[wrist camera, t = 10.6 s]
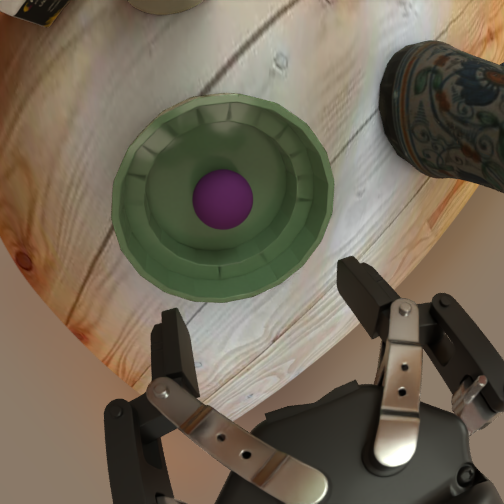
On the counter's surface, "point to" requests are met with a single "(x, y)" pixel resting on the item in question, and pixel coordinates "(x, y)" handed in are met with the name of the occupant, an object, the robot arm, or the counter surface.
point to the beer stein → (445, 112)
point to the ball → (222, 199)
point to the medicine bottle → (34, 10)
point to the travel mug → (164, 6)
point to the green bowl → (203, 162)
